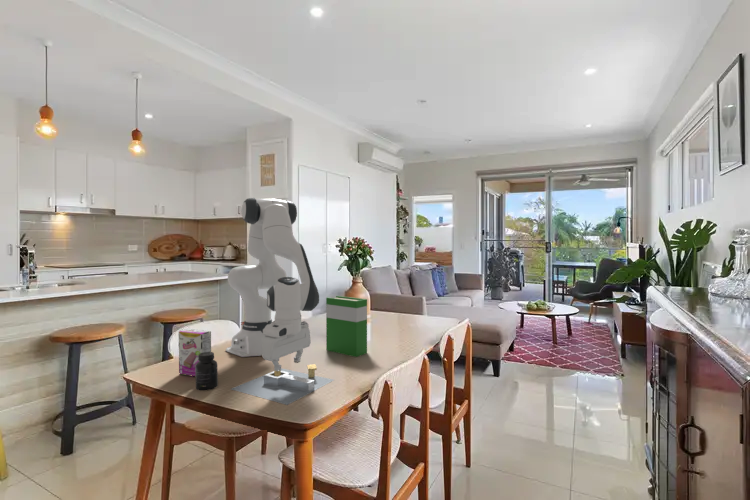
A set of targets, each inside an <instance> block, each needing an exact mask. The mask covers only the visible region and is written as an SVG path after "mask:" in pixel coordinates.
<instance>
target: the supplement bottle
mask: <svg viewBox="0 0 750 500" xmlns="http://www.w3.org/2000/svg"><path fill="white" fill-rule="evenodd" d="M198 361H199V362H198V363H197V364H196V366H195V374H196V377H195V390H197V391H200V392H201V391H203V392H204V391H210V390H214V389H216V388H217V387H218V386H219V379H218V376H219V375H218V361H217V360H216V359H215V353H214V352H213V351H211V352H204V353H200V354H199V355H198Z"/></svg>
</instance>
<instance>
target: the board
mask: <svg viewBox="0 0 750 500" xmlns="http://www.w3.org/2000/svg"><path fill="white" fill-rule="evenodd" d="M281 371H285V372H289V373H291V375H293V376H297V377H301V378H306V379H310V380H314V384H315V390H313V391H311V392H309V393H308V392H304V391H300V390H296V389H292V388H288V387H284V386H280V387H274V386H270V385H266V384H264V375H262V376H259V377H257V378H254V379H251V380H249V381H247V382H244V383H242V384H239V385H237V386H234V387H231V388H230V390H231V391H234V392H235V391H236V392H239V393H243V394H247V395H250V396H254V397H258V398H261V399H264V400H267V401H272V402H275V403H278V404H282V405H285V406H288V405H290V404H292V403H294V402H296V401H298V400H300V399H302V398H303V397H305V396H307V395H309V394H311V393H313V392H315V391H317V390H319V389H320V388H322V387H324V386H326V385H328V384H330V383H332V382H333V381H335V379H332V378H327V377H325V376H323V377H322V376H318V375H315V377H313V378H310V377H308V373H305V372H301V371H300V372H299V371H296V370H291V369H287V368H282V367H281Z"/></svg>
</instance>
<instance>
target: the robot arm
mask: <svg viewBox="0 0 750 500" xmlns="http://www.w3.org/2000/svg"><path fill="white" fill-rule="evenodd" d="M240 211H241V215H242V216H241V217H242V220H243V221H244V222H245V223H247V224H250V226H249V233H248V243H247V252H248V254H249V256H251V257H252V258H254V259H256V260H258V264H253V265H252V264H251V265H249V264H248V265H247V264H246V265H245V264H244V265H239V266H236V267H233V268H231V269H230V270H229V272H228V273H227V274H228V275H227V283H228V285H229V287H230V288H231V289H232V290H233V291H235V292H237V294H239V296H240V297H241V298H242V301H243V304H244V316H245V317H244V318H245V320H244V321H241V322H240V323H241V324H240V325H241V326H242V329H240V330H239V331H238V332H237V333H236V334H235V335H233V337H232V339H231V345H230V346H228V347H226V348H225V352H227V353H230V354H232V355H235V356H238V357H240V358H246V357H257V356H259V357H260V356H262V358H263V360H265V361H267V362H271V364H273V367H274V368H273V371H274V370H275V371H280V370H281V368H282V364H280V363H279V362H280V358H283V357H285V356H288V355H291V354H293V353H295V356H294V357H293V363H295V364H299V363H300V362H301V357H302V354H303V352H304V349H307V348H309V347H310V346H311V332H310V331H311V330H310V328H309V327H310V326H309V323H308V322H307V321H305V320H304V321H303V320H302V313H301V312H311V311H313V310H314V309H315V308H316V307H317V306H318V305H319V303H320V294H319V290H318V287H317V285H316V283H315V280H314V277H313V273H312V270H311V267H310V263H309V260H308V257H307V254H306V251H305V248H304V246H303V245H302V244H301V243H299V242H298V241H297V239H296V238H295V236H294V234H293V233H294V232H293V226H292V225H293V224H294V223H295V222H296V220H297V217H298V208H297V205H296V203H294V202H293V201H290V200H287V199H286V200H284V199H283V200H282V199H277V198H255V197H250V198H246V199H245V200H244V201H243V203H242V206H241V210H240ZM276 256H279V257H281V258H284V259H287V260H289V261H291V262H293V263H294V265H295V266H296V268H297V272H298V276H299V279H298V278H296V277H291V276H290V277H289V276H287V272H286V269H285V268H284V267H283V266H282V265H281V264H280V263H279V262H278V261H277V257H276ZM259 290H267V291H266V298H265V297H264V296H261V295H260V294H259ZM272 312H275V315H274V321H273V320H272Z"/></svg>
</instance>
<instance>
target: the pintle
mask: <svg viewBox="0 0 750 500" xmlns="http://www.w3.org/2000/svg"><path fill="white" fill-rule="evenodd" d="M273 371H274V376H276V377H278V376H281V370H280V371H275V370H274V369H273Z"/></svg>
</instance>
